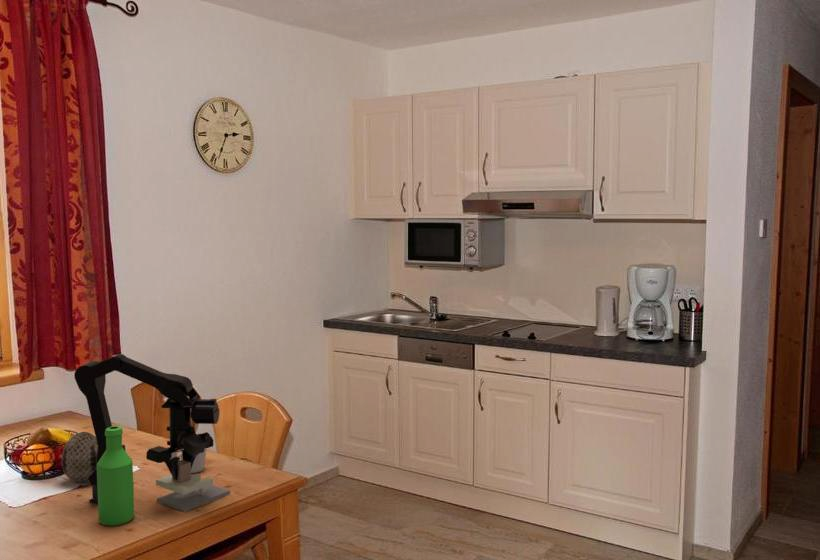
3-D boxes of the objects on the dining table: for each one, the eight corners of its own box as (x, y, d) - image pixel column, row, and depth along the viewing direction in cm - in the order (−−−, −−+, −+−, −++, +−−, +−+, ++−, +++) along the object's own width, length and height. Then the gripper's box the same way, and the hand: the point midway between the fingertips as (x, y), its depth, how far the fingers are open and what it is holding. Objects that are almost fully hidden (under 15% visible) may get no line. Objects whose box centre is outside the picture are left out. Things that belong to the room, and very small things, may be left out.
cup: (183, 479, 230) (182, 454, 229) (167, 474, 235) (166, 448, 234) (212, 469, 239) (211, 445, 238) (196, 464, 243) (195, 440, 243)
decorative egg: (54, 482, 227) (52, 433, 226) (91, 471, 236) (89, 424, 235) (75, 491, 220) (73, 441, 218) (112, 480, 229) (111, 431, 228)
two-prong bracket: (183, 494, 205) (183, 471, 205) (156, 485, 212) (155, 462, 212) (212, 484, 214) (212, 461, 213) (185, 474, 220) (184, 452, 220)
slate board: (184, 511, 206) (184, 497, 206) (156, 501, 213) (156, 487, 212) (230, 493, 219) (229, 480, 219) (202, 484, 226) (202, 471, 225)
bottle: (112, 530, 194) (109, 434, 192) (91, 522, 199) (88, 429, 196) (141, 518, 202) (138, 426, 199) (120, 511, 206) (117, 421, 204)
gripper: (170, 436, 198) (172, 494, 200) (226, 420, 213) (226, 474, 215) (144, 428, 205) (145, 485, 206) (200, 413, 220) (201, 466, 221)
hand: (181, 477), depth 212 cm, fingers closed on two-prong bracket, 4 cm apart
